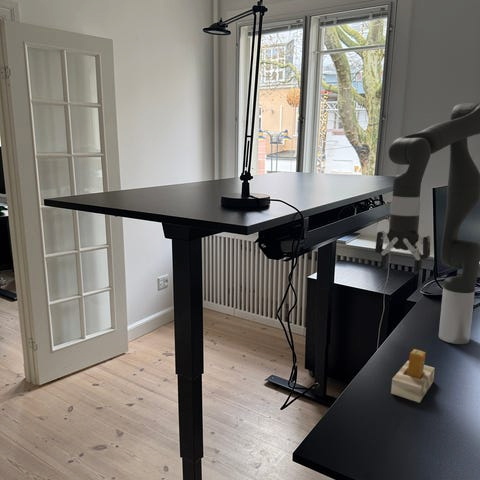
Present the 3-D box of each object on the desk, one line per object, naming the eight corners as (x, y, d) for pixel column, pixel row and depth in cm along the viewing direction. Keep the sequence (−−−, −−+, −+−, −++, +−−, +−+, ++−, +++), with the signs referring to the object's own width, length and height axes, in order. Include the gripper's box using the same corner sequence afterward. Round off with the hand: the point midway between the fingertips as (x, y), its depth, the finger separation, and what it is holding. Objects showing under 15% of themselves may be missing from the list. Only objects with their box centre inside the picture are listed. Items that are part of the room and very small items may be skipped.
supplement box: (419, 392, 113) (422, 356, 111) (405, 388, 115) (408, 352, 113) (422, 387, 115) (425, 351, 114) (409, 383, 117) (412, 348, 116)
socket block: (406, 373, 122) (407, 360, 122) (433, 381, 118) (434, 367, 118) (391, 393, 112) (392, 379, 112) (419, 402, 108) (420, 387, 107)
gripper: (435, 213, 119) (430, 271, 122) (383, 209, 127) (380, 264, 130) (428, 216, 113) (423, 277, 116) (374, 212, 121) (370, 269, 125)
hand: (400, 270), depth 123 cm, fingers open, 8 cm apart
